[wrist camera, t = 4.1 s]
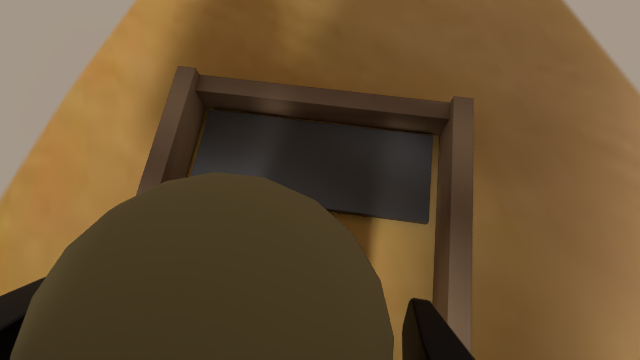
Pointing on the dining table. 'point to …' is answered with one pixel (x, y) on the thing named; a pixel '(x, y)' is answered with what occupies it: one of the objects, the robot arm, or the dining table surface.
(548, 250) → the dining table surface
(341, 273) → the cork
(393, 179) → the channel
